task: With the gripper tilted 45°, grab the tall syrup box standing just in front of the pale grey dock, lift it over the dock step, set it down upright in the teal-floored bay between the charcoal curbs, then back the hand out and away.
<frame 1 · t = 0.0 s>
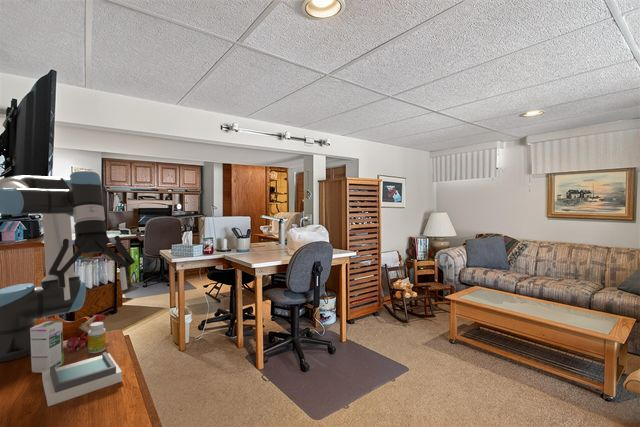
hand: (97, 294, 90), 28 cm above the table, tool tilted 20°, fingers open, 13 cm apart
toy fire truck: (86, 344, 120), on the table
dock: (82, 381, 95), on the table
supplement bottle: (97, 350, 115), on the table
syrup box: (47, 368, 102), on the table
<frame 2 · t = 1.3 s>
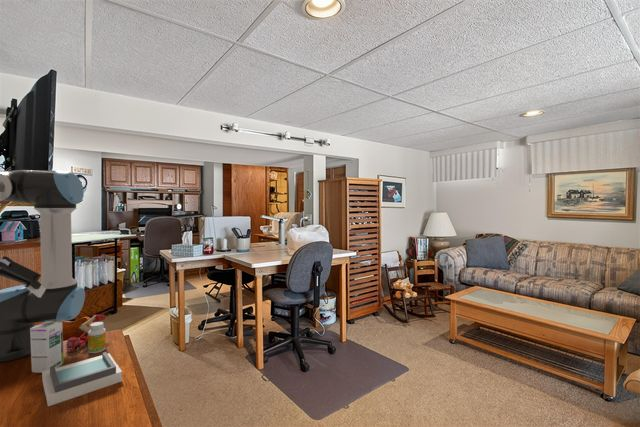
hand: (17, 293, 91), 27 cm above the table, tool tilted 45°, fingers open, 13 cm apart
nothing on the table moved.
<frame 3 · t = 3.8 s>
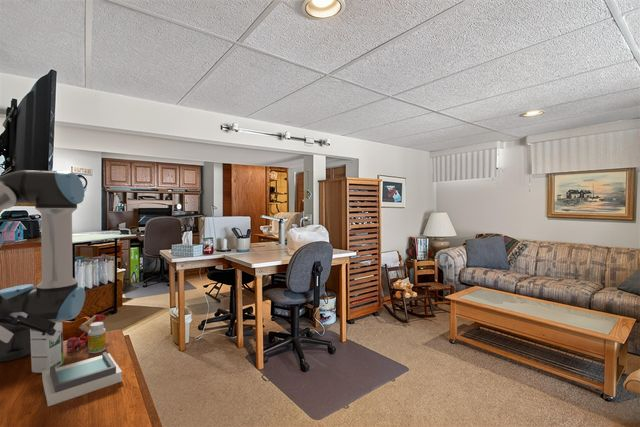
hand: (33, 338, 96), 12 cm above the table, tool tilted 45°, fingers open, 13 cm apart
nothing on the table moved.
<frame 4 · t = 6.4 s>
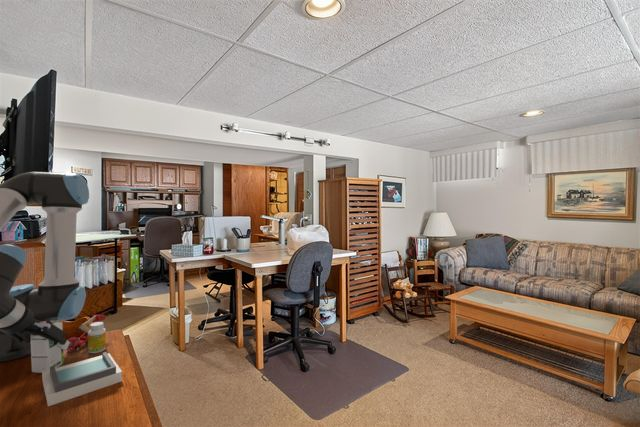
hand: (56, 346, 106), 5 cm above the table, tool tilted 45°, fingers closed on syrup box, 6 cm apart
syrup box: (47, 368, 102), on the table, touching gripper
everything else where it was.
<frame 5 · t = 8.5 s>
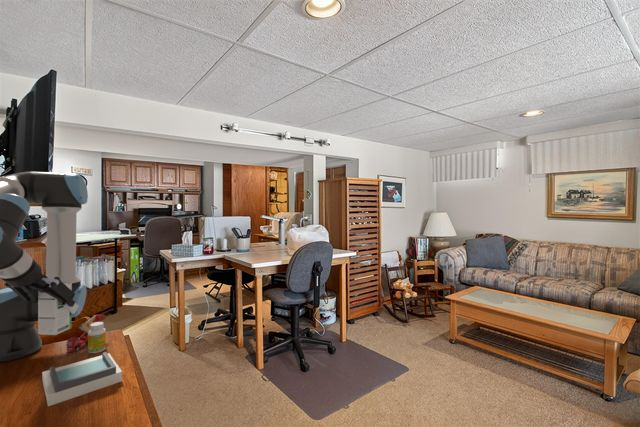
hand: (64, 309, 100), 20 cm above the table, tool tilted 45°, fingers closed on syrup box, 6 cm apart
syrup box: (54, 332, 97), point 14 cm above the table, touching gripper
everything else where it was.
when the fingers open (10 cm above the table, at t = 11.0 s): syrup box drops 1 cm, resting on dock.
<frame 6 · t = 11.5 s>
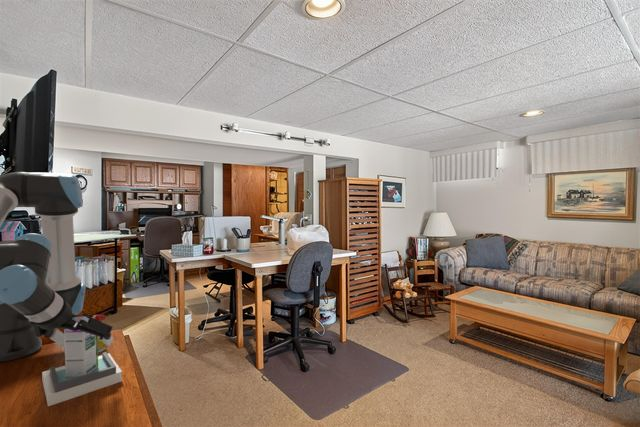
hand: (88, 342, 96), 11 cm above the table, tool tilted 45°, fingers open, 12 cm apart
syrup box: (82, 373, 94), point 3 cm above the table, touching dock
everything else where it was.
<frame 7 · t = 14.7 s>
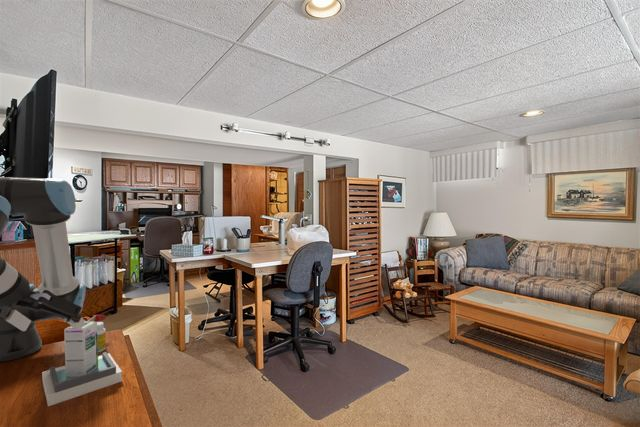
hand: (54, 325, 83), 21 cm above the table, tool tilted 45°, fingers open, 13 cm apart
nothing on the table moved.
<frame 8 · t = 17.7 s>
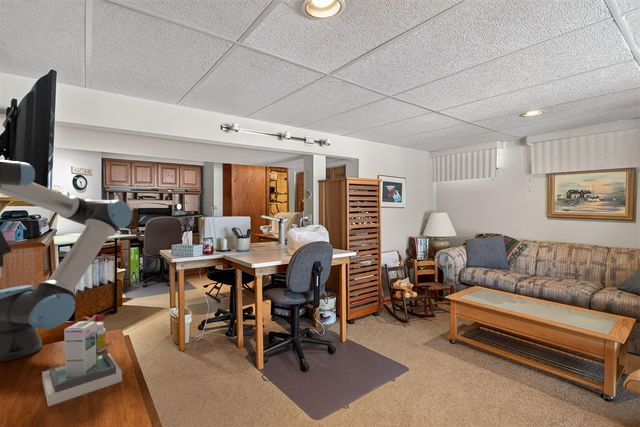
nothing on the table moved.
at the end: syrup box inside the target area on the dock (0.2 cm from its centre), point 3.0 cm above the dock's base; syrup box tilted 0°; the gripper is holding nothing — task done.
